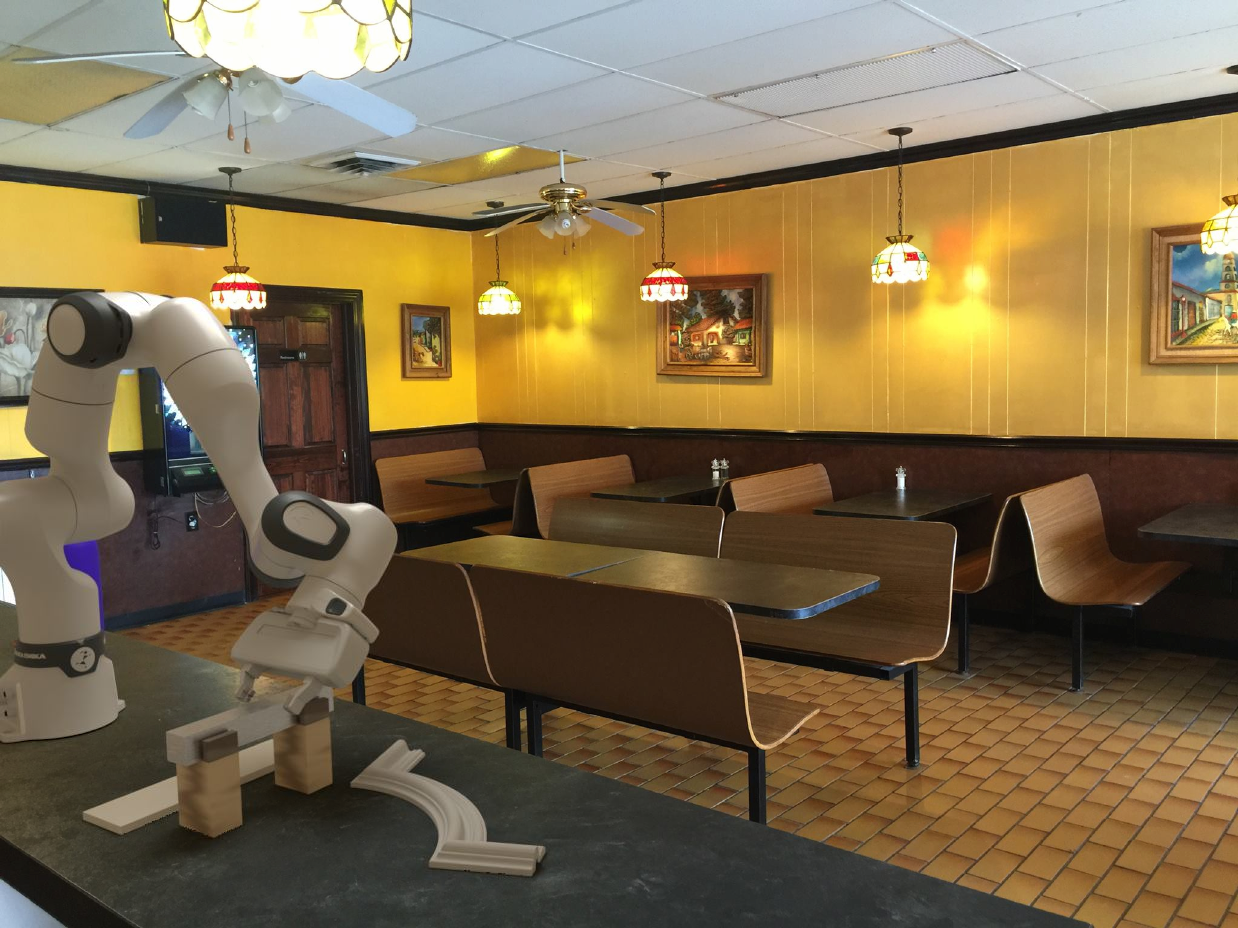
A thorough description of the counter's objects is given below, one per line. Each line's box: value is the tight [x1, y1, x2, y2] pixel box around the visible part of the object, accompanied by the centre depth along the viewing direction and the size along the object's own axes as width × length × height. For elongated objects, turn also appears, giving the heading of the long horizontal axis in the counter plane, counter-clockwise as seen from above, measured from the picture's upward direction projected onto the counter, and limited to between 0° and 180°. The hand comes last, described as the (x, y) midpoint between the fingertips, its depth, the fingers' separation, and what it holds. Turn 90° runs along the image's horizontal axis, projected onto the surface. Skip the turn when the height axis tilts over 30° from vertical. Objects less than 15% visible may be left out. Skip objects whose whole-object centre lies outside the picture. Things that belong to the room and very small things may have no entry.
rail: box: [165, 684, 335, 767], centre depth 124 cm, size 4×22×4 cm, turn 148°
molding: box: [350, 739, 547, 877], centre depth 122 cm, size 42×12×3 cm, turn 33°
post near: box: [175, 730, 243, 839], centre depth 119 cm, size 6×4×12 cm, turn 58°
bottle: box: [63, 540, 106, 638], centre depth 193 cm, size 8×8×30 cm
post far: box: [272, 697, 333, 795], centre depth 131 cm, size 6×4×12 cm, turn 58°
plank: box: [82, 738, 275, 836], centre depth 131 cm, size 8×28×1 cm, turn 148°
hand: (264, 705), depth 125 cm, fingers open, 8 cm apart
